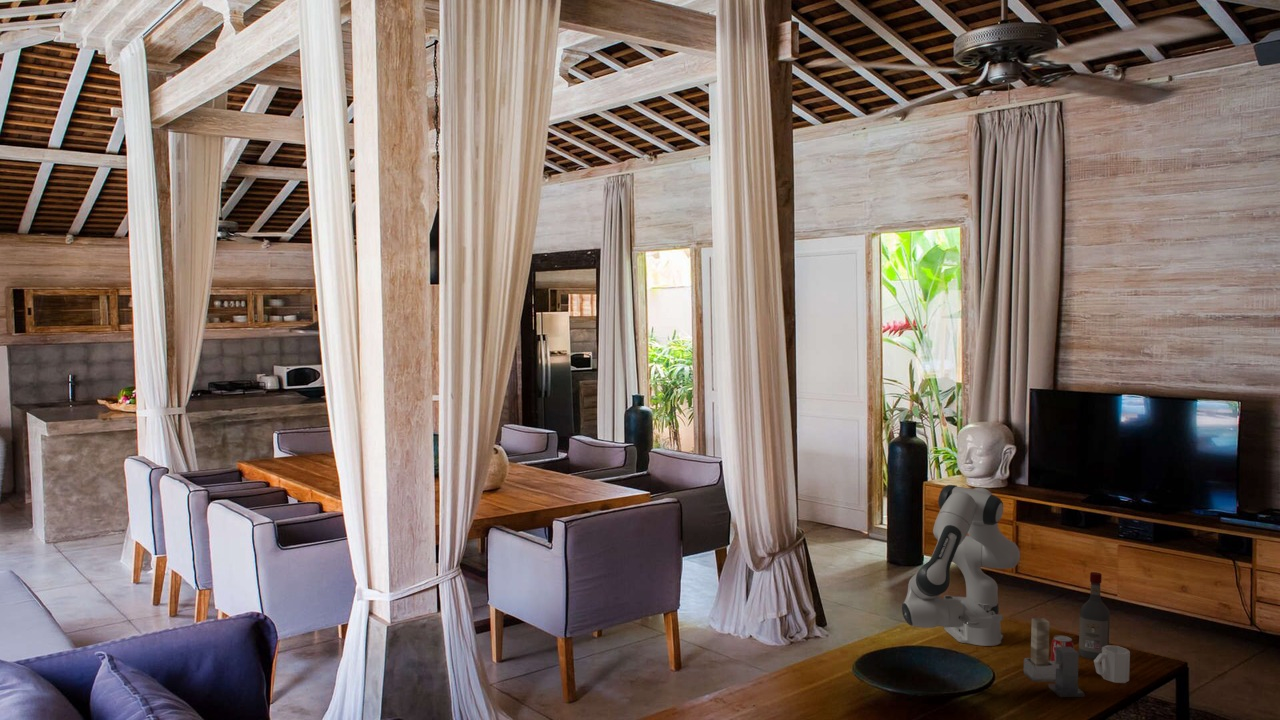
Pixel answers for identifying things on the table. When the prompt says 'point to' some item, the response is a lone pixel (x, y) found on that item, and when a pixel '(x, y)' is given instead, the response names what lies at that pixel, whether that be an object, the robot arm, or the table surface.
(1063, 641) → the soda can
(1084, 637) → the liquor
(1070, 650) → the cup bracket
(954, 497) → the robot arm
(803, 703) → the table surface
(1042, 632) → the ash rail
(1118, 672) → the mug
